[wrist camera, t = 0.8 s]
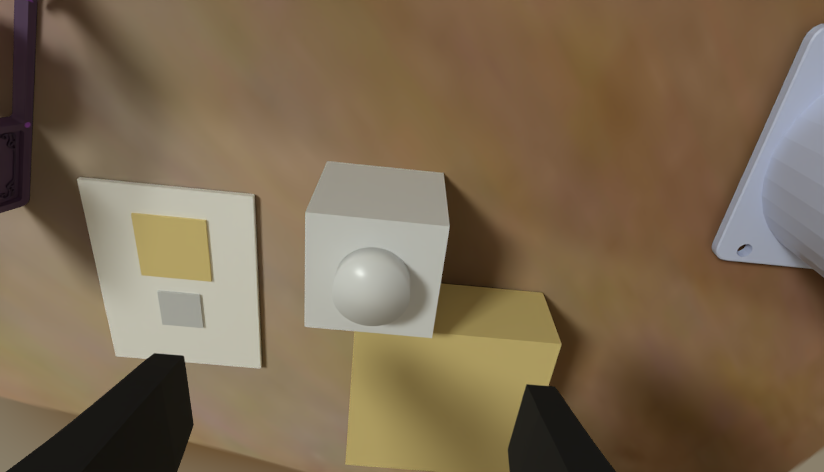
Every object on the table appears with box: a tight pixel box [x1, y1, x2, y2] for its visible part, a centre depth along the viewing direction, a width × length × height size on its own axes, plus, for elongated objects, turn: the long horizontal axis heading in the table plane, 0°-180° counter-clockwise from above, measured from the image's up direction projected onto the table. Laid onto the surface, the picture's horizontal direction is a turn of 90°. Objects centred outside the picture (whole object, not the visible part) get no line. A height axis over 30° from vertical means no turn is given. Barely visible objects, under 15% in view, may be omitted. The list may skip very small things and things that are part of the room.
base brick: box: [345, 283, 562, 472], centre depth 20 cm, size 7×7×3 cm
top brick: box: [305, 161, 450, 338], centre depth 17 cm, size 4×4×5 cm
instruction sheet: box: [77, 177, 262, 368], centre depth 20 cm, size 6×8×1 cm
